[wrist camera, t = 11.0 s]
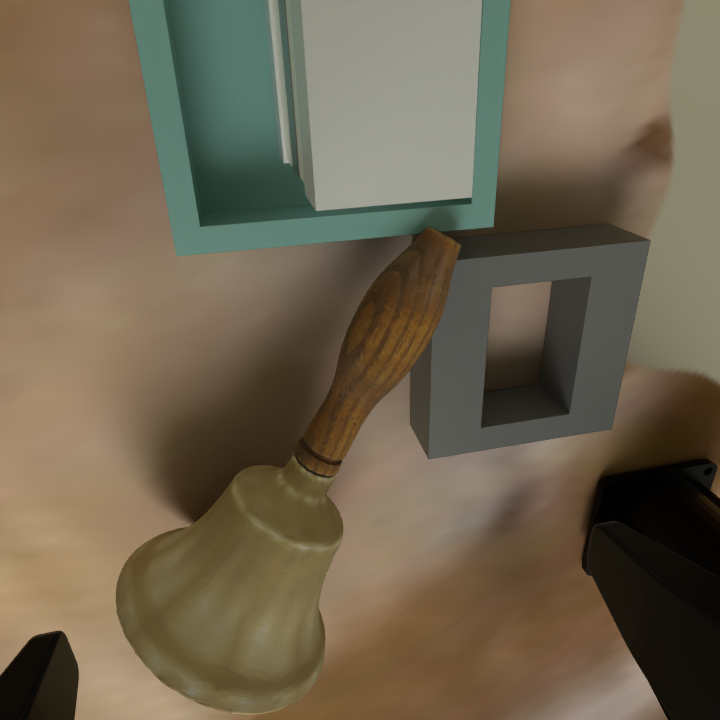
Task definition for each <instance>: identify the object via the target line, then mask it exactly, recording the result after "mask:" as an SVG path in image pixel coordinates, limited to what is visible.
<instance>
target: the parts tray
mask: <svg viewBox="0 0 720 720" xmlns="http://www.w3.org/2000/svg"><path fill="white" fill-rule="evenodd" d="M510 1H511V0H482V14H481V34H480V53H479V72H478V91H477V110H476V129H475V149H474V168H473V187H472V197H471V198H459V199H448V200H437V201H425V202H414V203H402V204H391V205H379V206H368V207H356V208H345V209H333V210H322V211H316V210H315V209H314V207H313V206H312V204H311V203H310V201H309V200H308V198H307V197H306V195H305V185H304V182H303V180H302V179H301V178H299V177H298V176H297V174H296V173H295V171H294V170H293V167H292V166H291V164H290V163H283V161H282V160H281V158H280V157H279V151H278V141H277V131H276V121H275V111H274V101H273V90H272V80H271V70H270V60H269V50H268V40H267V29H266V19H265V9H264V0H129V4H130V10H131V15H132V20H133V26H134V31H135V36H136V42H137V47H138V52H139V58H140V63H141V68H142V74H143V79H144V84H145V90H146V95H147V100H148V106H149V111H150V117H151V122H152V127H153V133H154V138H155V143H156V149H157V154H158V159H159V165H160V170H161V175H162V181H163V186H164V191H165V197H166V202H167V207H168V213H169V218H170V224H171V229H172V234H173V240H174V245H175V250H176V256H185V255H196V254H207V253H217V252H228V251H239V250H250V249H261V248H271V247H282V246H293V245H304V244H315V243H325V242H336V241H347V240H358V239H369V238H380V237H390V236H401V235H412V234H421V233H422V232H423V231H424V229H425V228H426V227H428V226H429V227H432V228H434V229H436V230H438V231H440V232H444V231H455V230H466V229H477V228H488V227H494V214H495V200H496V187H497V174H498V160H499V147H500V134H501V121H502V107H503V94H504V81H505V68H506V54H507V41H508V28H509V15H510Z"/></svg>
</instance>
